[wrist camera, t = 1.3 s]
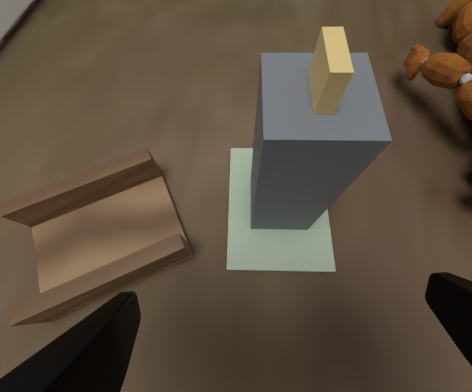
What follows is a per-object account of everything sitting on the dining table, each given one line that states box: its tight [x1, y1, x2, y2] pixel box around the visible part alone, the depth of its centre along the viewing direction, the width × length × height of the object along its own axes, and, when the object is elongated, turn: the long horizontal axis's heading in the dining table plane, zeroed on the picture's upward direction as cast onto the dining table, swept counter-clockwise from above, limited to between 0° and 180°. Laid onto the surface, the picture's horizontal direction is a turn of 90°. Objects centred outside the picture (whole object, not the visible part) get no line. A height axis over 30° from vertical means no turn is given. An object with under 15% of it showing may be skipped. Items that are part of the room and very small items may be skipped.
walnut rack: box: [0, 148, 194, 326], centre depth 20 cm, size 9×12×4 cm
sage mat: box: [227, 148, 336, 272], centre depth 23 cm, size 12×9×1 cm
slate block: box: [251, 27, 392, 230], centre depth 16 cm, size 5×5×15 cm
